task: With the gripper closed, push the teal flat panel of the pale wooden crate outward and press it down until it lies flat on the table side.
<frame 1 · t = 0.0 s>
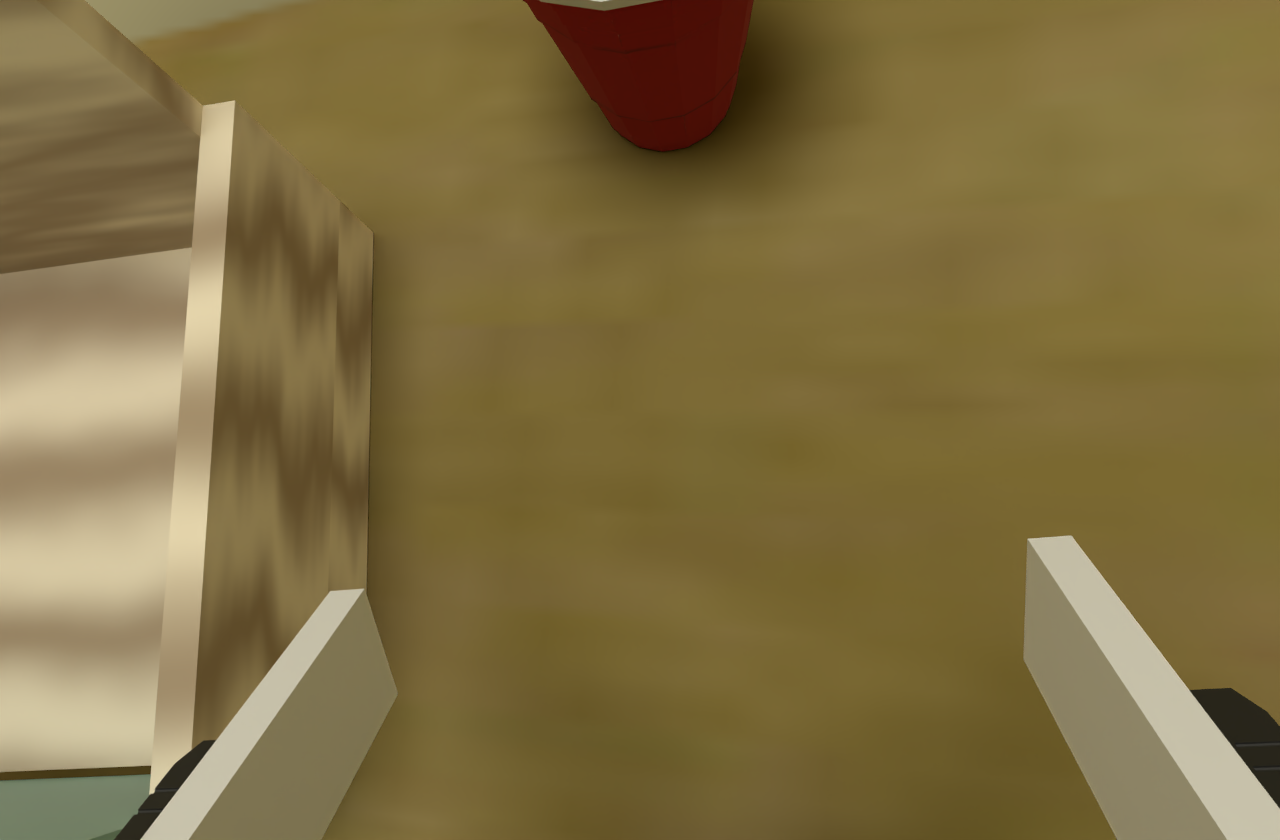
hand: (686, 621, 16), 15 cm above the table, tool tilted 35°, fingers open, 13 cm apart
crate: (156, 489, 36), on the table
plastic cup: (669, 93, 37), on the table
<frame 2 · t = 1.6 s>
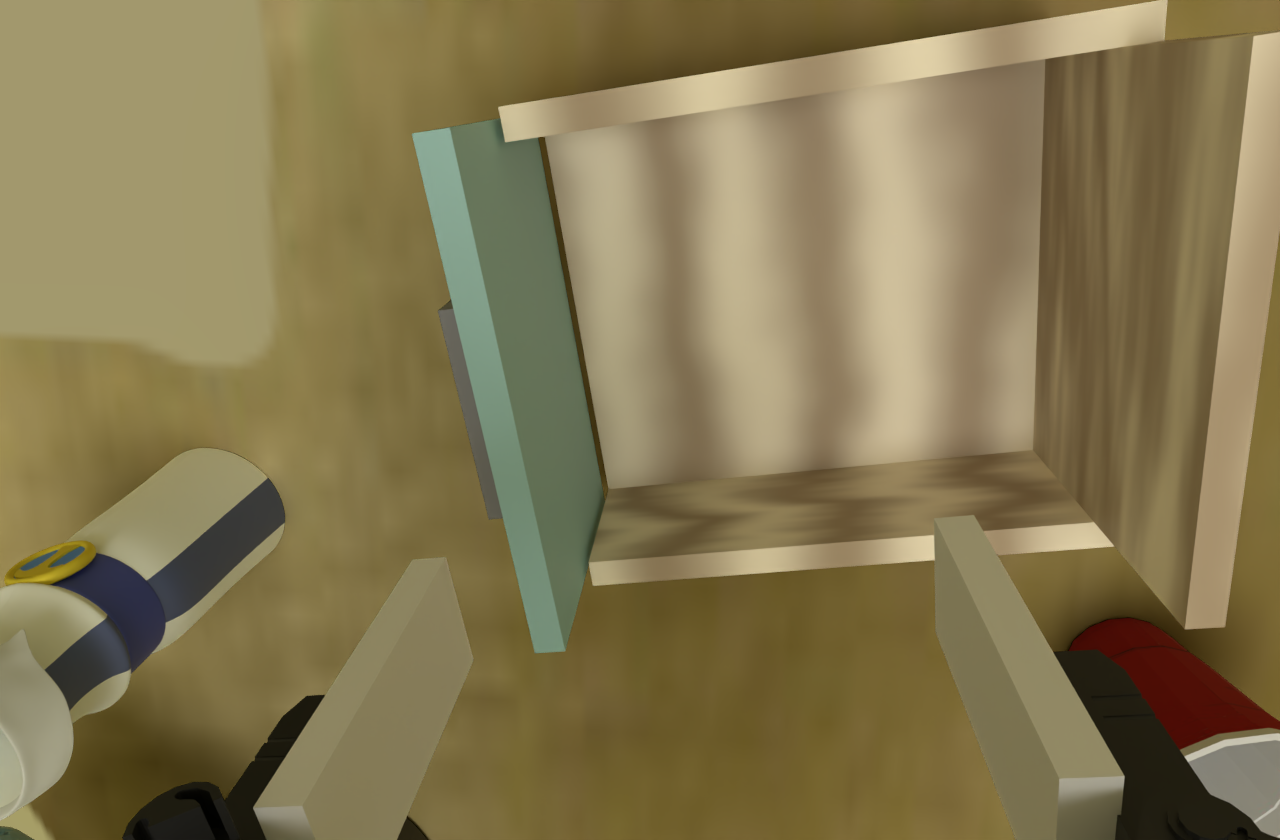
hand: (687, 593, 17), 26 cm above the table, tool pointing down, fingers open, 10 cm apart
crate: (806, 281, 40), on the table
blue-banded white tube: (218, 503, 49), on the table
plastic cup: (1119, 656, 47), on the table
teal flat panel: (524, 368, 34), point 9 cm above the table, hinge at 0.0°
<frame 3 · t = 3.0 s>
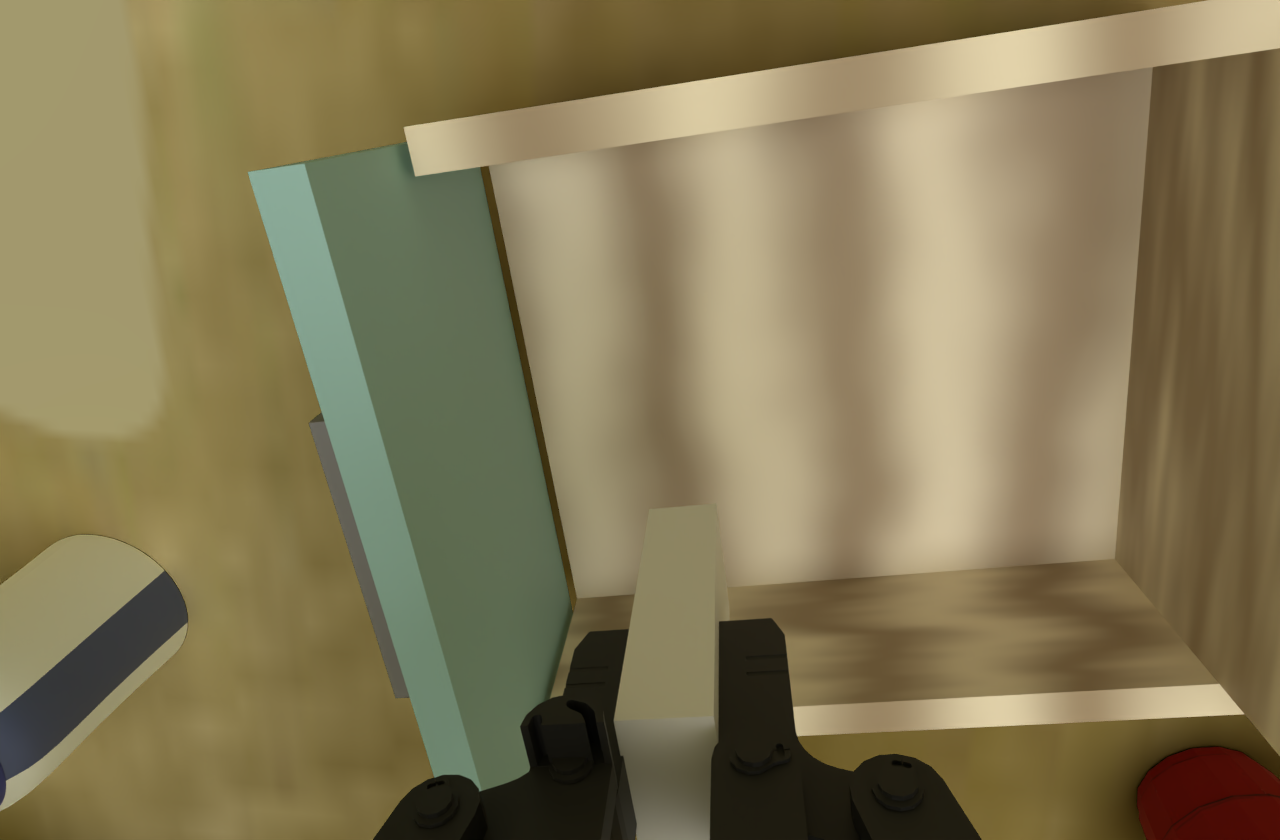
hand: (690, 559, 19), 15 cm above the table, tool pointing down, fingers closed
crate: (826, 342, 32), on the table
blue-banded white tube: (107, 599, 40), on the table
plastic cup: (1203, 789, 39), on the table
teal flat panel: (455, 473, 25), point 9 cm above the table, hinge at 0.0°
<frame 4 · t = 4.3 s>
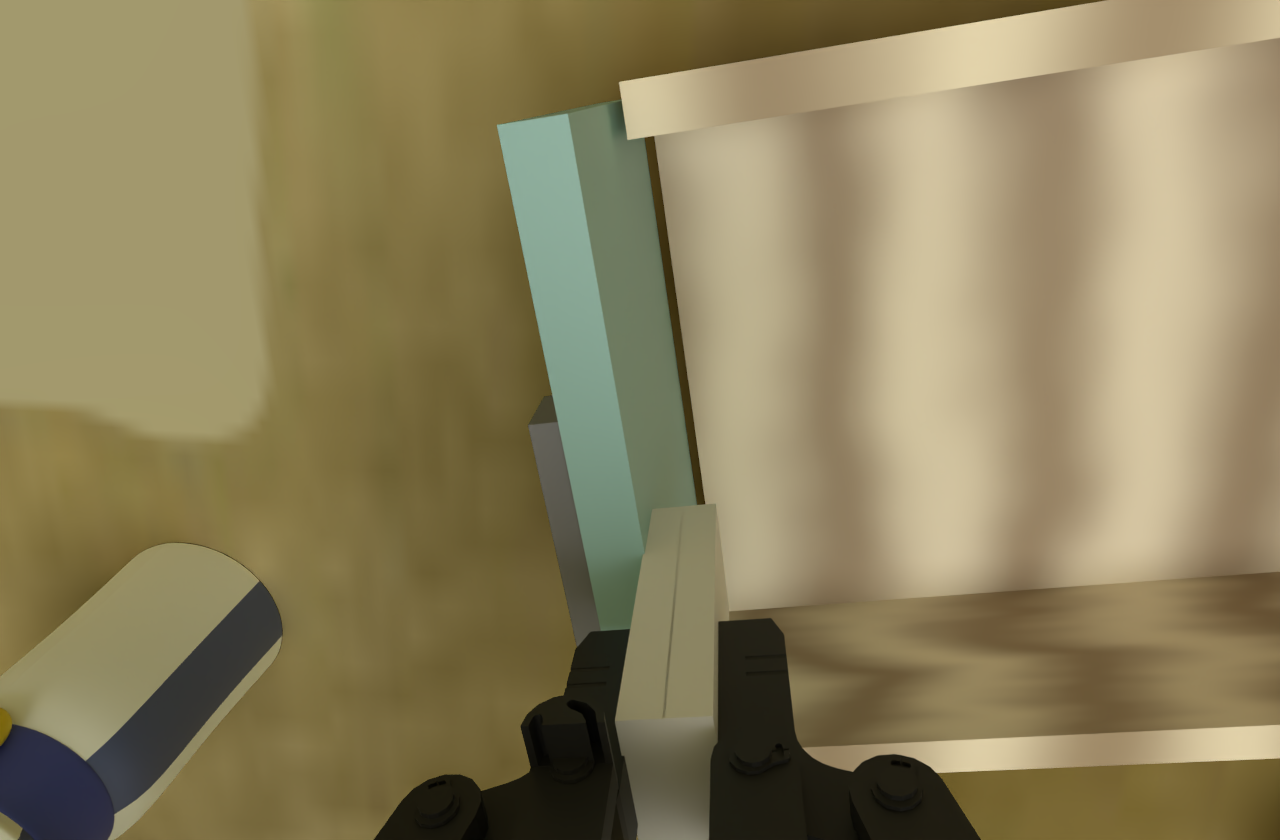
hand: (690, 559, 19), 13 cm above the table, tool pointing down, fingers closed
crate: (1002, 331, 29), on the table
blue-banded white tube: (196, 611, 38), on the table
teal flat panel: (635, 479, 23), point 9 cm above the table, hinge at 0.1°, touching gripper
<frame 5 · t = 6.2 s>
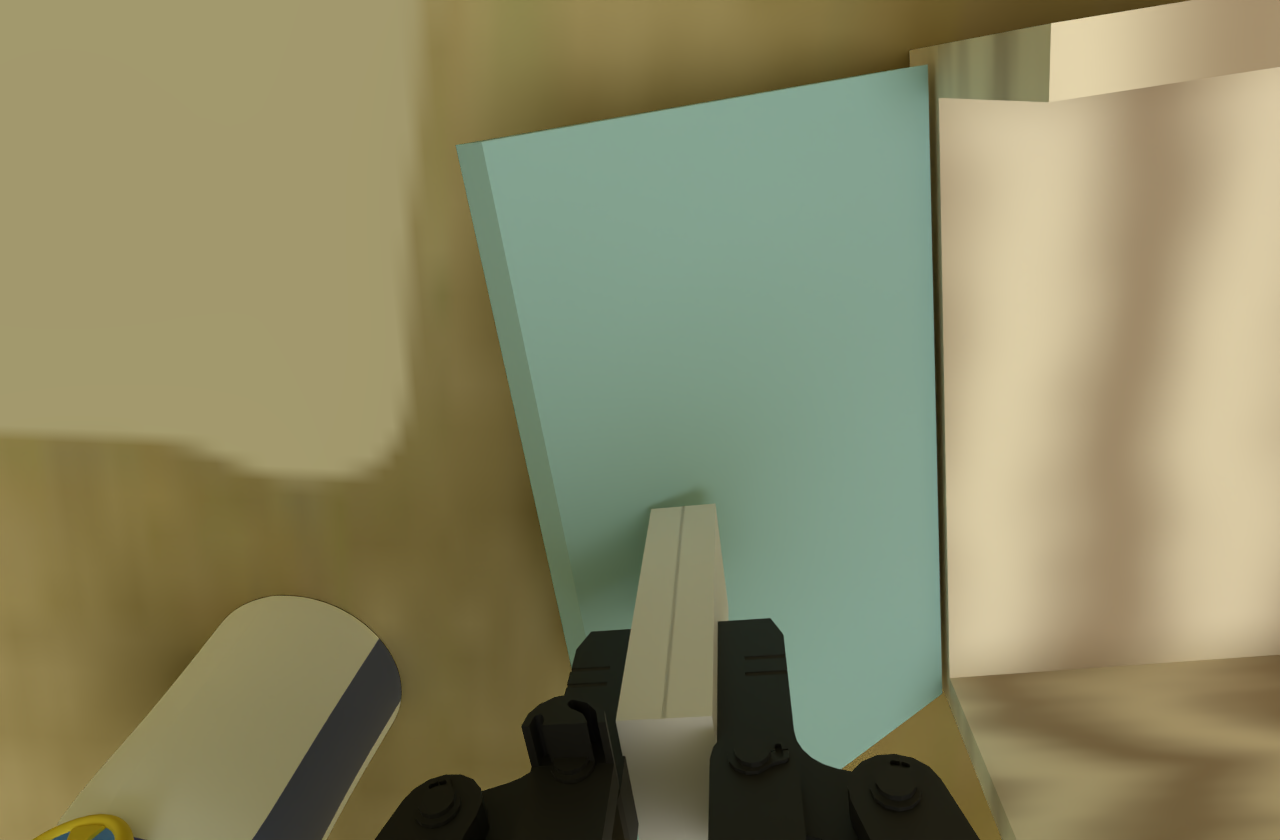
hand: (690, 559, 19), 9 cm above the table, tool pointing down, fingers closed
blue-banded white tube: (301, 672, 33), on the table
teal flat panel: (755, 490, 21), point 6 cm above the table, hinge at 51.6°, touching gripper
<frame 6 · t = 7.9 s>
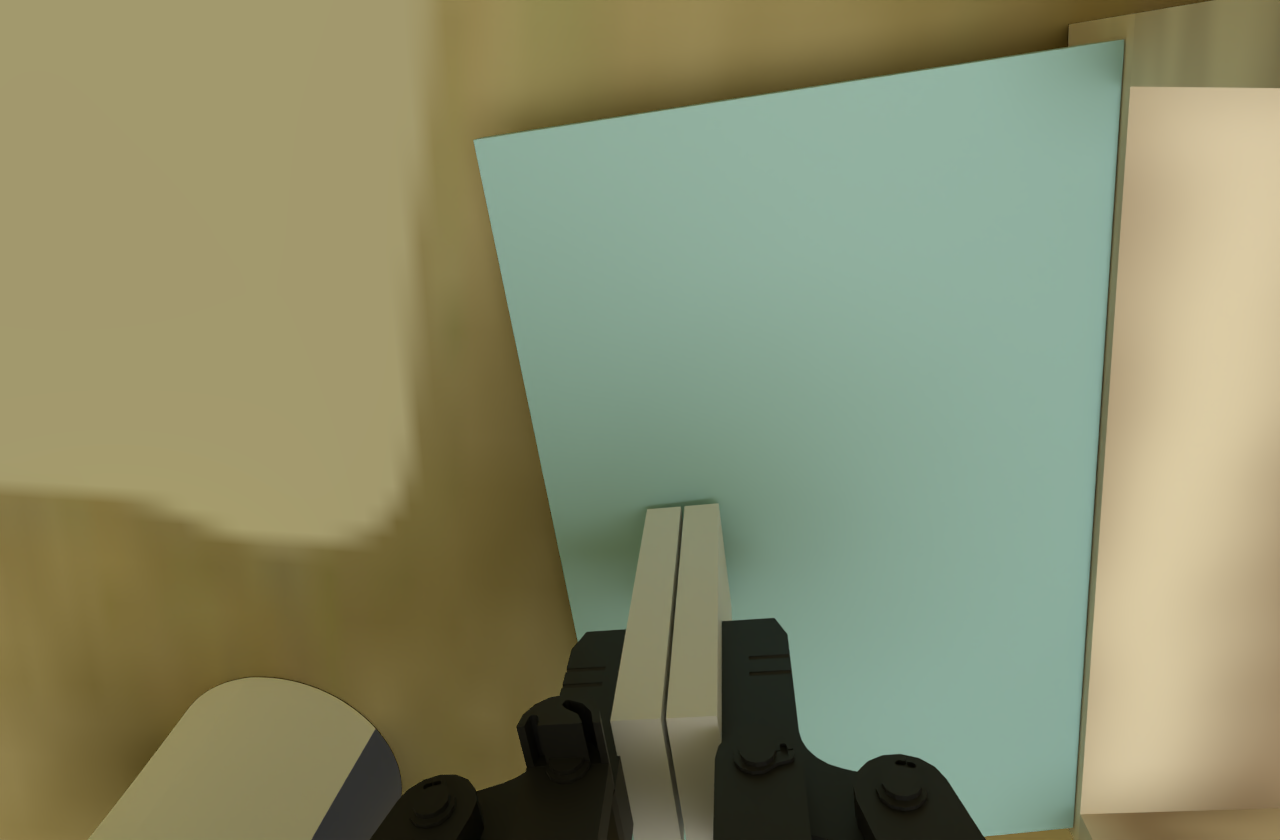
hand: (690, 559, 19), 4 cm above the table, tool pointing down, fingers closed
blue-banded white tube: (284, 762, 28), on the table
teal flat panel: (815, 520, 20), point 2 cm above the table, hinge at 85.0°, touching gripper
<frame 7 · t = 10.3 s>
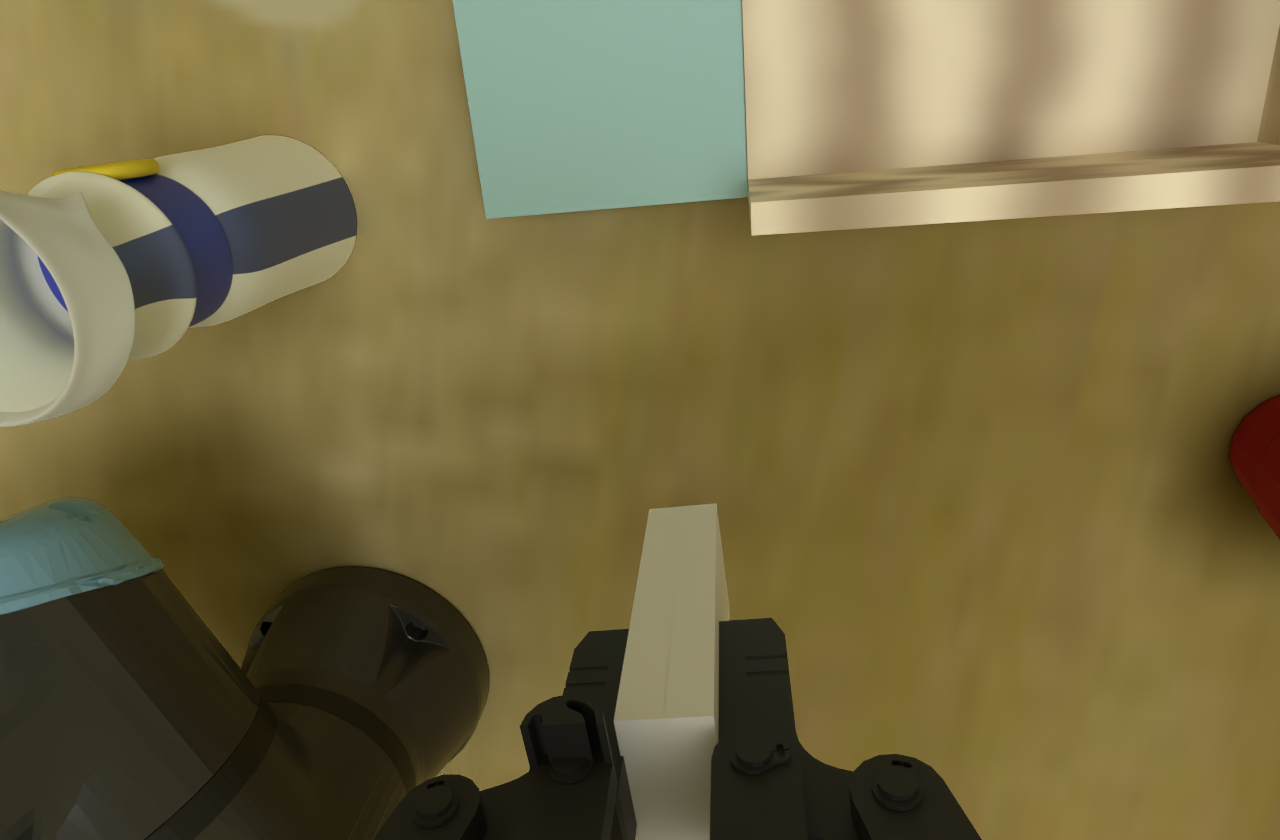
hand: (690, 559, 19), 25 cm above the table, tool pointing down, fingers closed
blue-banded white tube: (282, 210, 43), on the table
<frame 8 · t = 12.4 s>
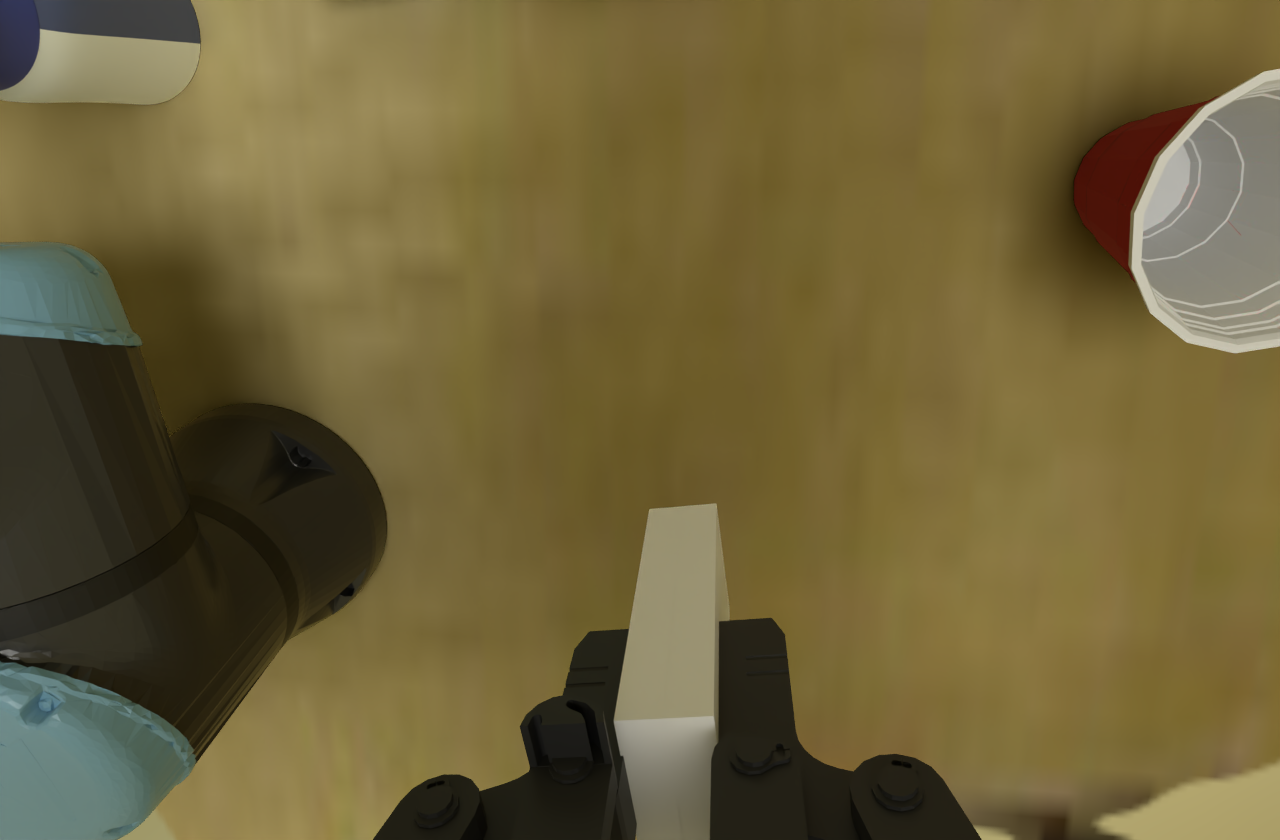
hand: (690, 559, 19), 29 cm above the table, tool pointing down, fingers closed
blue-banded white tube: (127, 24, 44), on the table
plastic cup: (1134, 180, 42), on the table
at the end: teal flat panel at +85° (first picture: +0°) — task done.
